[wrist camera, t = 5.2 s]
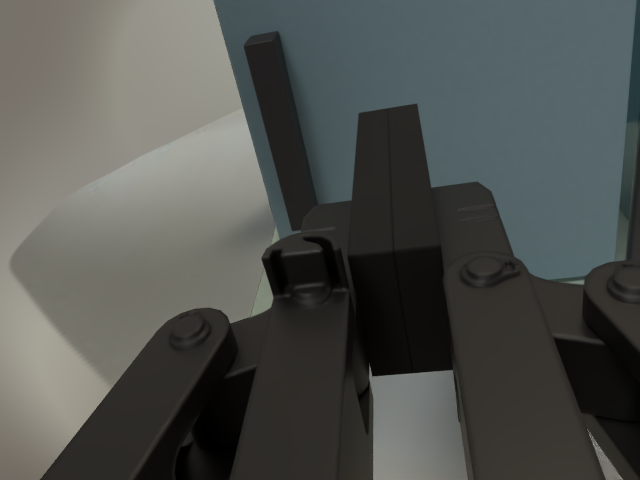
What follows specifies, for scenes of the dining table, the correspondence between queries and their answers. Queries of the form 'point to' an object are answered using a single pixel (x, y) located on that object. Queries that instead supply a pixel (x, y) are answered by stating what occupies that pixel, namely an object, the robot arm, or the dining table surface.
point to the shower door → (448, 106)
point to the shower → (635, 199)
